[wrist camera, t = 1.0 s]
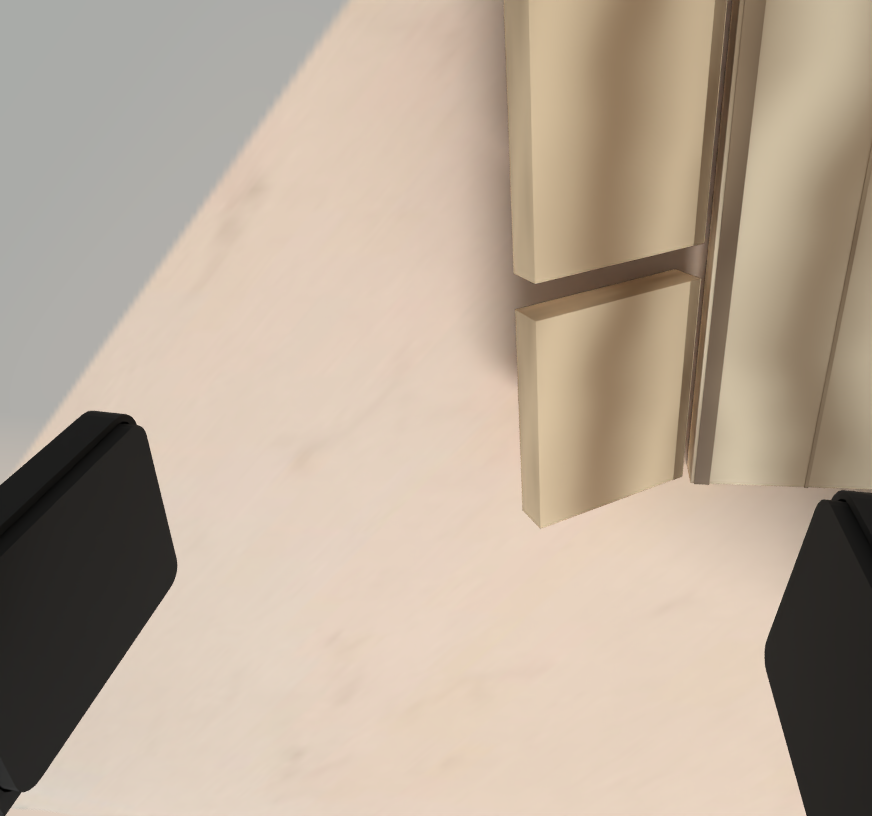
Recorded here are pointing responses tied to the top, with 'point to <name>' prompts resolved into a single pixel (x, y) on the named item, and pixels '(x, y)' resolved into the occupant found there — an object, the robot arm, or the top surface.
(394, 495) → the top surface
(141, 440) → the robot arm
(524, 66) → the front oak plank
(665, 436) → the back oak plank
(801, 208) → the laid oak floor row
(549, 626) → the top surface
